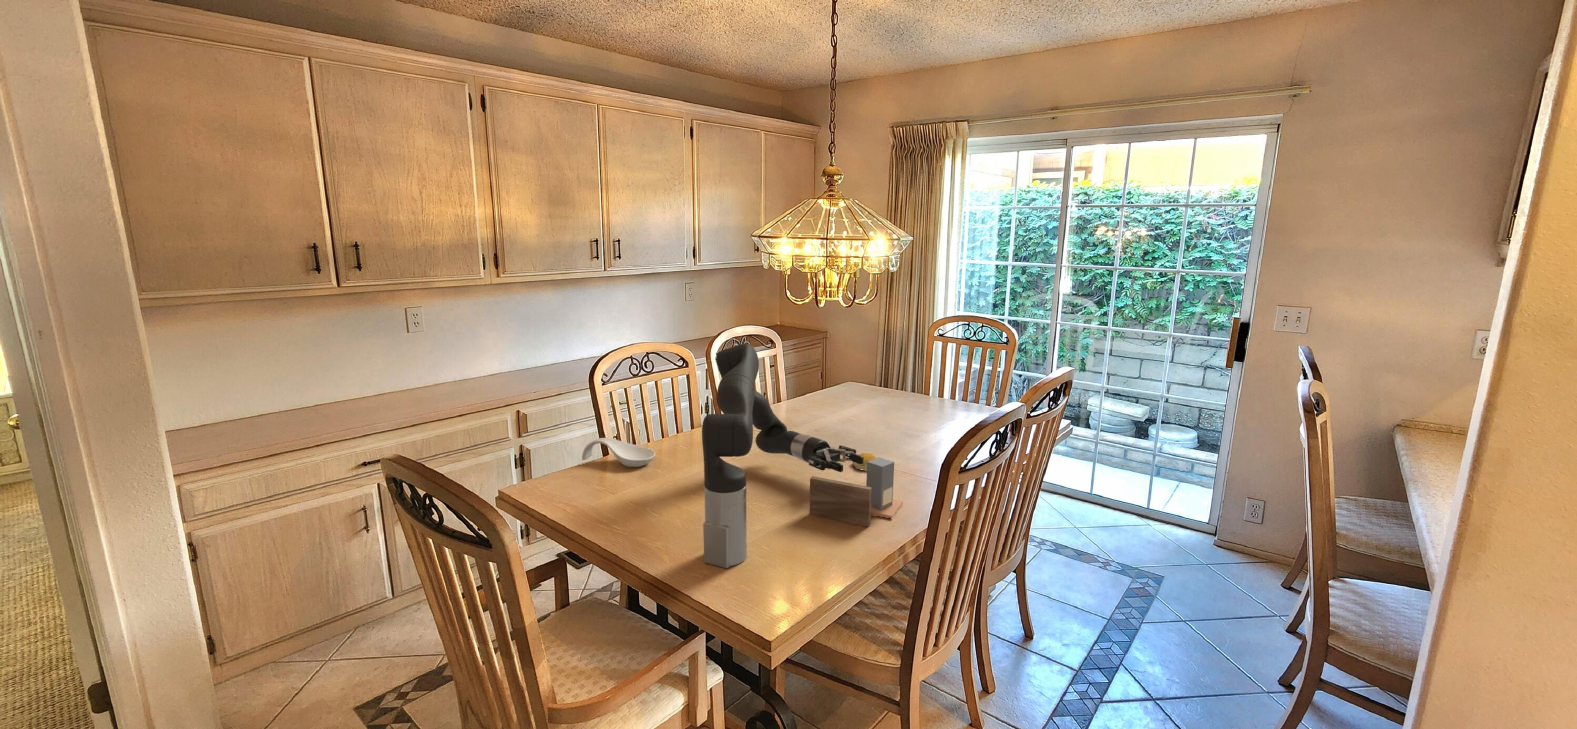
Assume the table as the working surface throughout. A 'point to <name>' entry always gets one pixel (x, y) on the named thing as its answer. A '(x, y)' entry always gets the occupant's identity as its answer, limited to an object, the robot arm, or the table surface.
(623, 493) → the table surface
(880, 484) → the slate block
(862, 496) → the walnut screen
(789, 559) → the table surface
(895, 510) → the terracotta tile
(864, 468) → the bread roll
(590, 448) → the spoon rest
